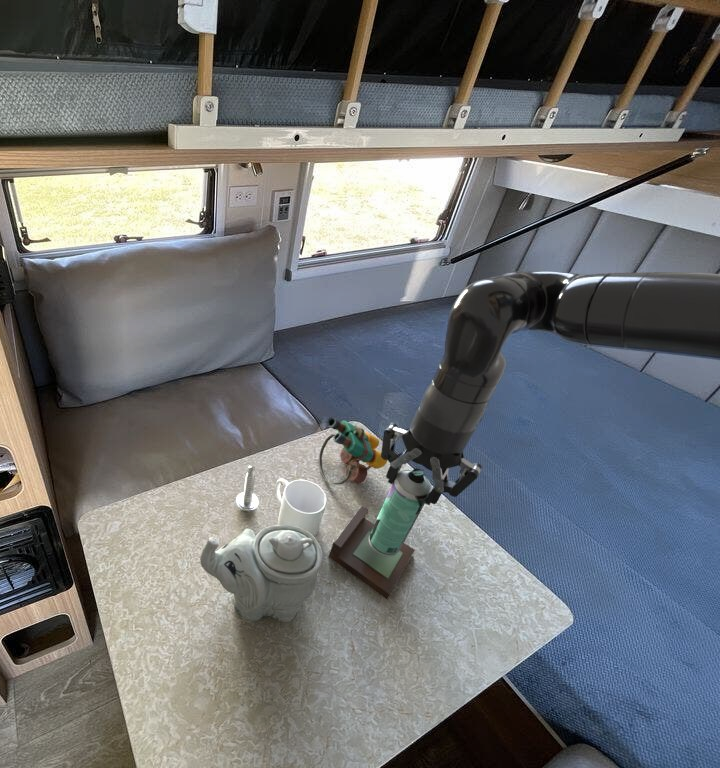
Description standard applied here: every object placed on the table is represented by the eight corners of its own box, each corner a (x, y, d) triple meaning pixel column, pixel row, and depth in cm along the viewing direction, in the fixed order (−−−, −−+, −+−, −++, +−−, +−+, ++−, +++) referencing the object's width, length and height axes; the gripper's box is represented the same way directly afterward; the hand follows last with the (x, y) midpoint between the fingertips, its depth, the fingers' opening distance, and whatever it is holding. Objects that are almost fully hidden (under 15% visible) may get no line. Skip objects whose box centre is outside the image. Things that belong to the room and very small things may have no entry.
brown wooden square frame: (411, 555, 80) (420, 541, 77) (386, 600, 73) (395, 586, 70) (356, 519, 87) (361, 504, 84) (328, 557, 79) (333, 542, 77)
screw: (231, 503, 89) (249, 494, 91) (243, 519, 86) (261, 510, 88) (235, 463, 81) (254, 454, 83) (248, 479, 78) (268, 470, 80)
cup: (296, 551, 80) (304, 521, 74) (258, 508, 88) (263, 478, 82) (325, 532, 84) (335, 501, 78) (286, 492, 92) (293, 462, 86)
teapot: (196, 597, 73) (197, 536, 61) (244, 539, 82) (253, 478, 71) (273, 665, 64) (291, 610, 53) (318, 592, 74) (340, 533, 63)
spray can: (405, 547, 75) (444, 475, 63) (387, 562, 73) (425, 491, 61) (380, 526, 79) (413, 454, 67) (362, 539, 76) (393, 468, 65)
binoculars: (349, 503, 94) (399, 467, 86) (303, 482, 90) (352, 441, 82) (335, 459, 105) (378, 423, 98) (293, 437, 101) (335, 398, 93)
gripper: (387, 402, 58) (359, 479, 68) (498, 452, 51) (448, 531, 61) (407, 380, 63) (378, 456, 73) (512, 424, 55) (463, 502, 65)
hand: (410, 490), depth 67 cm, fingers closed on spray can, 5 cm apart
